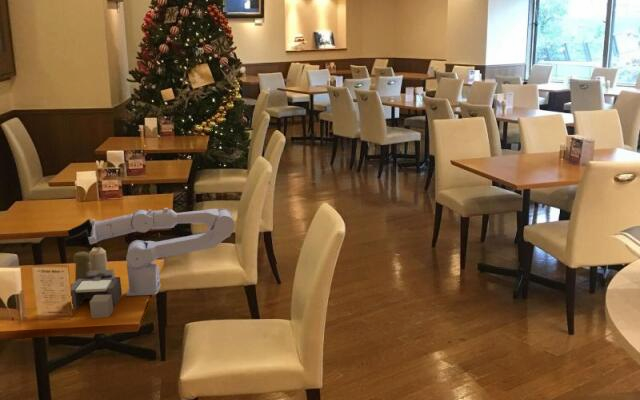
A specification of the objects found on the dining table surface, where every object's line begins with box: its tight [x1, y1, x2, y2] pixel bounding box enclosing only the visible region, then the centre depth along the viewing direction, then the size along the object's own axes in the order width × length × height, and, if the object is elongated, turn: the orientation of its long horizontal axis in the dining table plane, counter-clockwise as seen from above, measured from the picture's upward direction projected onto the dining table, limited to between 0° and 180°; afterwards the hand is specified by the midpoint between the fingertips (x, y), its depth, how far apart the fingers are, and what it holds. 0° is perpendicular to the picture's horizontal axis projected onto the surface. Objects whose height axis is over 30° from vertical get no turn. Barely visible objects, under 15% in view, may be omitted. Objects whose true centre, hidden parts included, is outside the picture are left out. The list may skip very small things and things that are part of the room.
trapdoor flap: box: [75, 269, 116, 292], centre depth 202 cm, size 9×12×4 cm
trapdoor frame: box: [70, 276, 123, 310], centre depth 201 cm, size 13×9×6 cm
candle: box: [88, 246, 109, 271], centre depth 221 cm, size 6×6×10 cm
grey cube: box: [89, 294, 114, 319], centre depth 193 cm, size 5×5×5 cm
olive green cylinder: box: [72, 251, 91, 283], centre depth 214 cm, size 6×6×11 cm
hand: (67, 238), depth 200 cm, fingers open, 7 cm apart
